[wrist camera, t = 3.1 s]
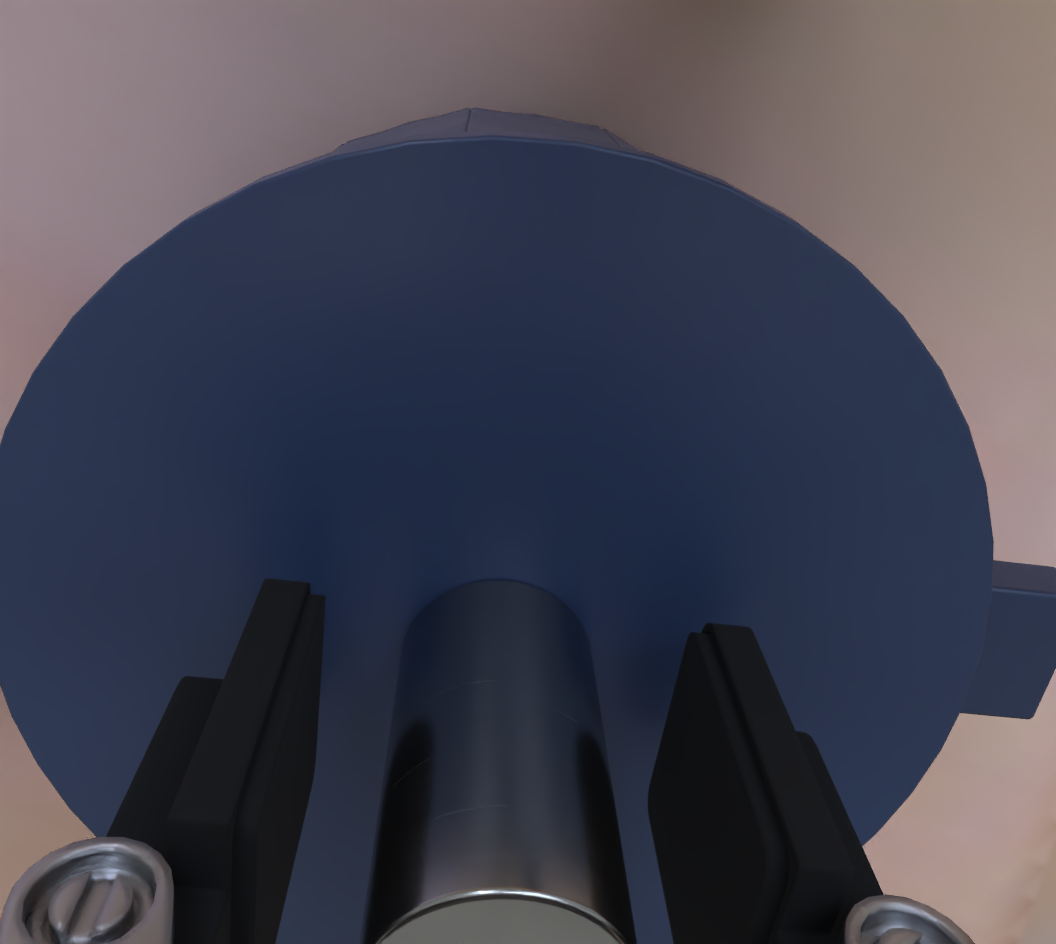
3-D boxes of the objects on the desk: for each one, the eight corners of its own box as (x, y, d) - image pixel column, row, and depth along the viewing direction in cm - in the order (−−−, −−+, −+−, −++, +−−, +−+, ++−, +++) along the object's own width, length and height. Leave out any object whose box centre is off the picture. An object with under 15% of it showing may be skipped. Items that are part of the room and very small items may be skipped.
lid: (-31, 41, 11) (-609, 66, 5) (1105, 208, 12) (1652, 378, 6) (54, 900, 16) (-174, 1357, 11) (814, 952, 18) (964, 1387, 12)
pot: (59, 43, 18) (-269, 61, 10) (971, 178, 19) (1284, 283, 12) (93, 607, 23) (-105, 899, 15) (807, 676, 25) (949, 971, 17)
